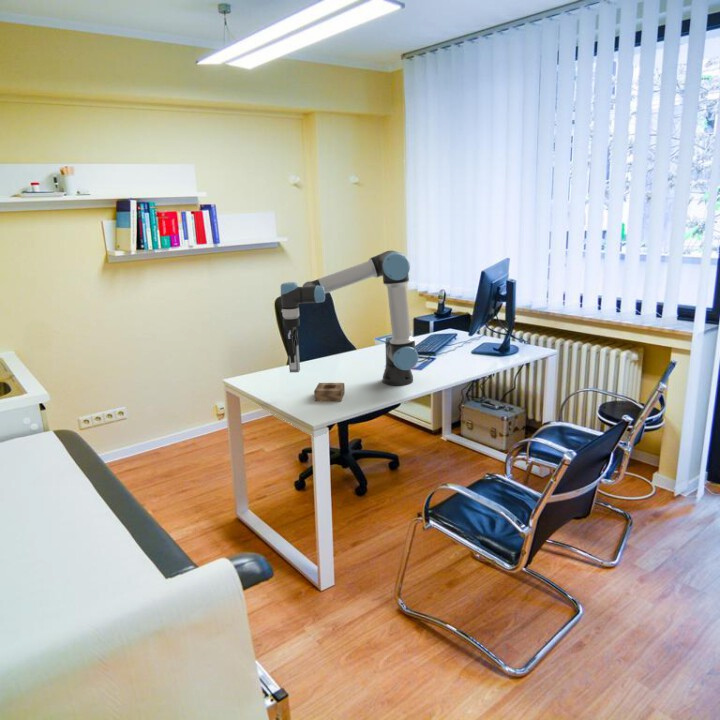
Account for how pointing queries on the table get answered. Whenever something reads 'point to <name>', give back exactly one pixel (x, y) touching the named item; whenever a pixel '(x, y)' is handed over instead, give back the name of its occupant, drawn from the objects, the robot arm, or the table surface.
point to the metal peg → (296, 360)
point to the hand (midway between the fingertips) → (294, 367)
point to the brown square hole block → (329, 392)
